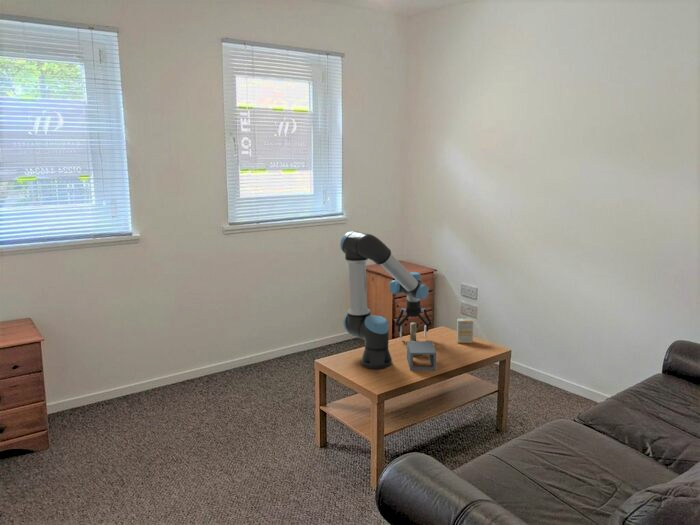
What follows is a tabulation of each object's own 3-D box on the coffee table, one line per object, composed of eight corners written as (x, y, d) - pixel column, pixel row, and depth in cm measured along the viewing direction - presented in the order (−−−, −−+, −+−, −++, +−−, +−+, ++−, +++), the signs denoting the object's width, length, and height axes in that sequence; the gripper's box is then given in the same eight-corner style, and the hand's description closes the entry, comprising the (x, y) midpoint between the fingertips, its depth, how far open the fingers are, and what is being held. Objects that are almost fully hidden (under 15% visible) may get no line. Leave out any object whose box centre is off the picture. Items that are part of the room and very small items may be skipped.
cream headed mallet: (411, 356, 284) (411, 337, 282) (407, 339, 308) (407, 322, 306) (423, 356, 284) (423, 337, 282) (418, 339, 308) (418, 322, 306)
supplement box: (471, 340, 306) (472, 318, 303) (472, 343, 301) (473, 320, 298) (456, 340, 307) (457, 317, 304) (457, 343, 302) (458, 320, 299)
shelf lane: (410, 370, 266) (410, 352, 264) (406, 358, 281) (407, 341, 279) (436, 370, 266) (436, 352, 264) (431, 357, 281) (431, 341, 279)
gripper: (391, 302, 299) (391, 339, 303) (437, 301, 299) (436, 339, 303) (390, 298, 306) (390, 335, 310) (435, 298, 306) (434, 334, 310)
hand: (413, 337), depth 307 cm, fingers open, 13 cm apart
